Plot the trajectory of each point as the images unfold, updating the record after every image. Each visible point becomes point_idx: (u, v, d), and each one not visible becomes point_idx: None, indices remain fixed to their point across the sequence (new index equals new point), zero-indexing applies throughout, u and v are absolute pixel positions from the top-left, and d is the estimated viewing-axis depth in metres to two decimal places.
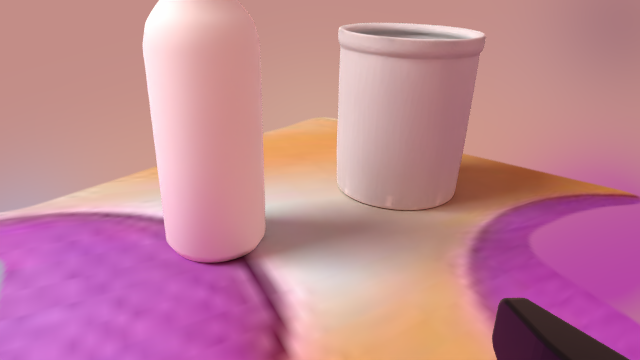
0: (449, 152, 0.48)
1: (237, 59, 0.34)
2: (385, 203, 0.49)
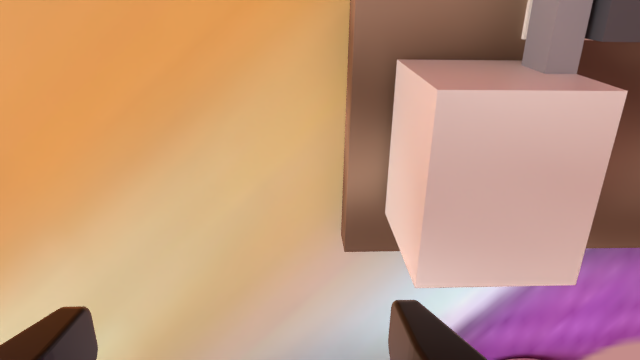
0: None
1: None
2: None
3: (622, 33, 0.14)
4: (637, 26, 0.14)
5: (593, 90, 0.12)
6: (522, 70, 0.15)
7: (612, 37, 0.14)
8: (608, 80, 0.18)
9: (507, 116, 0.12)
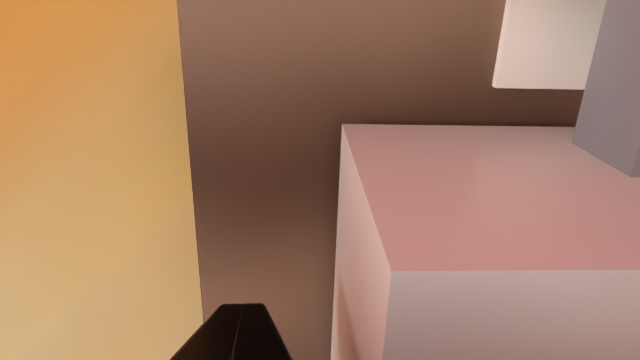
0: None
1: None
2: None
3: None
4: None
5: None
6: (580, 164, 0.07)
7: None
8: None
9: (569, 326, 0.05)
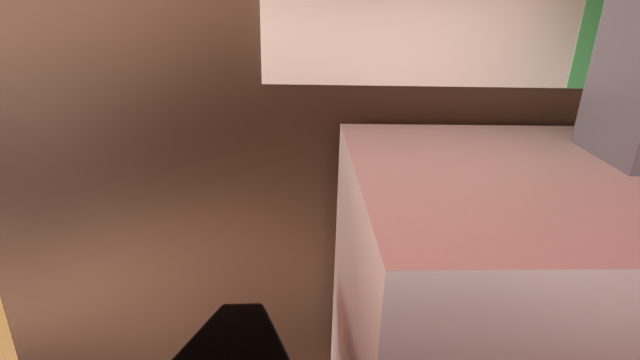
0: None
1: None
2: None
3: None
4: None
5: None
6: (579, 163, 0.07)
7: None
8: None
9: (564, 325, 0.05)
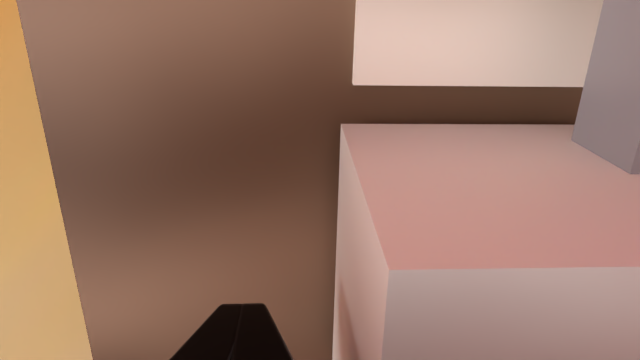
0: None
1: None
2: None
3: None
4: None
5: None
6: (579, 161, 0.07)
7: None
8: None
9: (569, 324, 0.05)
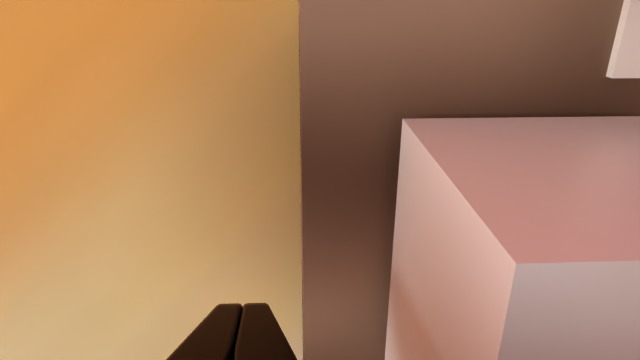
0: None
1: None
2: None
3: None
4: None
5: None
6: None
7: None
8: None
9: None
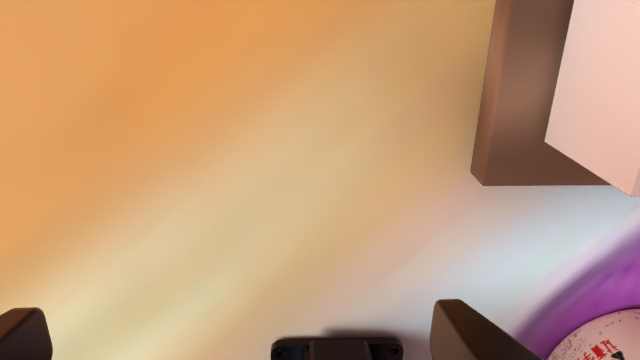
0: None
1: None
2: None
3: None
4: None
5: None
6: None
7: None
8: None
9: None
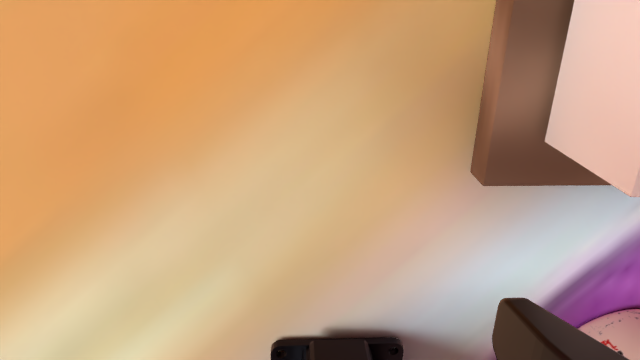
0: None
1: None
2: None
3: None
4: None
5: None
6: None
7: None
8: None
9: None
